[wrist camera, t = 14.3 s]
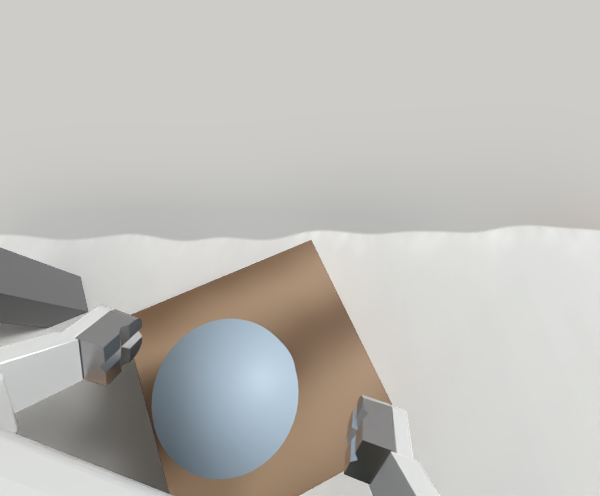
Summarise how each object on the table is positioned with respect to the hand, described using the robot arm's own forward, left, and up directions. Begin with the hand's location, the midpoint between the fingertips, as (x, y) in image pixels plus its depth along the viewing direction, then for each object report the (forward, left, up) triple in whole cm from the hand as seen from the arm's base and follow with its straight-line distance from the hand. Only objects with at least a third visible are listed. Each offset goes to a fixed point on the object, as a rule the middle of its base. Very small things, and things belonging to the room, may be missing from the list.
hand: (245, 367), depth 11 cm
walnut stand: (0, 0, -13) cm, 13 cm away
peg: (0, 0, -7) cm, 7 cm away
